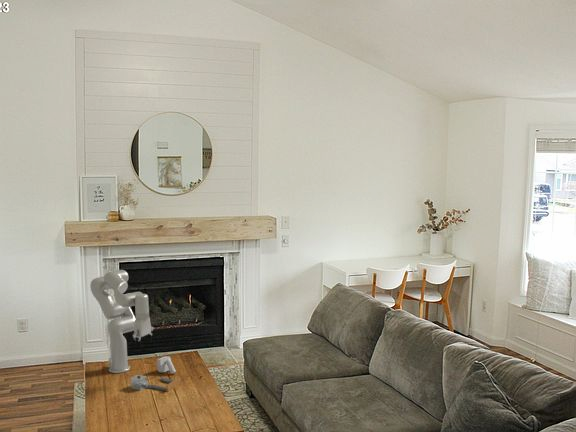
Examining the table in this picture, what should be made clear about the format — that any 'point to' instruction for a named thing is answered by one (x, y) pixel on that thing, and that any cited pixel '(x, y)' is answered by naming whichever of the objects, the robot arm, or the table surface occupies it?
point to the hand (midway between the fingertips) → (144, 345)
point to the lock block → (138, 382)
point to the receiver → (168, 387)
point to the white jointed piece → (165, 365)
